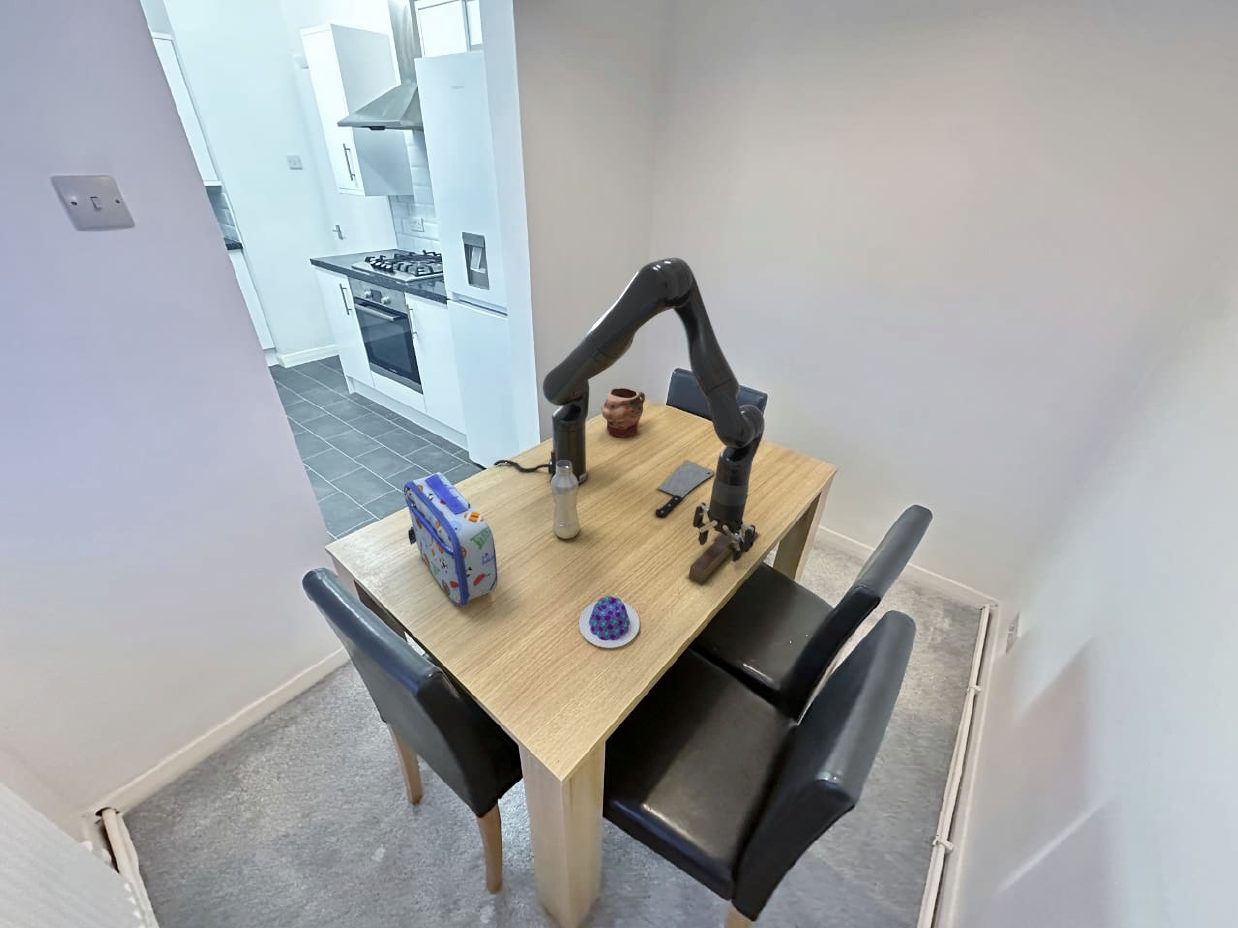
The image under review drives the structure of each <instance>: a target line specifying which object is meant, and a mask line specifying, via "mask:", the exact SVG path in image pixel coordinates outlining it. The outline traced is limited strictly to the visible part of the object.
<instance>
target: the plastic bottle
mask: <svg viewBox="0 0 1238 928" xmlns="http://www.w3.org/2000/svg"><path fill="white" fill-rule="evenodd" d="M572 471H573V469H572V463H571V462H570V461H567V460H561V461H558V462H557V463H556V474H555V475H554V477H553V478H552V477H551V481H550V488H551V493H552V497H553V506H554V512H553V515H554V517H553V519H552V520H553V521H552V522H553V523H552V529H553V532H554V534H555V535H556V536H557V537H558V538H561V539H564V540H565V539H566V540H569V539H572V538H575V536H576V535H577V534H578V533H579V531H580V525H581V524H580V519H579V516H578V508H577V502H578V490H579V484H578V480H577V478H576V477H575V475H574V474H573V473H572Z"/></svg>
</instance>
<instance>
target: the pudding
mask: <svg viewBox="0 0 1238 928" xmlns="http://www.w3.org/2000/svg"><path fill="white" fill-rule="evenodd" d="M640 624H641V623H640V617H639V615H638V613H637V611H636V609H634V607H632V606H631V605H630V604H628V603H626V602H624V601H622V600H621V599H620V598H619V597H614V596H611V595H608V596H606V597H601V598H599V599H598V600H596V601H594V602H592V603H590V604H589V605H588V606H587V607H585V608H584V609H583V610H582V612H581V614H580V616H579V620H578V627H579V630H580V632H581V634H582V636H583V638H585V640H587V641H588V642H589V643H591V644H593V645H595V646H597V647H600V648H608V649H609V648H610V649H611V648H619V647H623V646H624V645H626V644H628V643H630V642H631V641H632V640H633V639H634V638H635V637H636V636H637V634H638V633H639V630H640V626H641V625H640Z"/></svg>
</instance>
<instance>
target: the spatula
mask: <svg viewBox="0 0 1238 928" xmlns="http://www.w3.org/2000/svg"><path fill="white" fill-rule="evenodd" d="M740 530H741V532H742V538H743V540H744V538H745V536H744V535H743V530H742V529H740ZM733 535H735V533H733ZM757 536H758V532H757V531H755V536H754V539H755V538H757ZM734 549H735V547H734V544H733V543H732V542H730V540H729V537H728V535H727V536H725V535H723V534H722V533H721V532H719V534H718V535H716V537H715V539H714V542H713V543H712V544H711V545H710V546H709V547H708V548H707V549H706V550H705V551H704V552H703V553H702V554H701V555H700V556H699V557H698V558H697V559H696V560H695V561H694V562H692V564H691V565H690V567H689V574H688V579H690V580H691V581H693V582H695V583H696V584H698V585H701V584H702V583H703V582H705V580H706V579H707V578H708V577H709V576H710V575H711V574H712V573H713V572H714V571H715V570H716V569H717V567H718V566H719V565H720V564H721V563H723V562H724V560H725V559H727V557H728V556H729V555H730V554H731V553H732V551H734Z"/></svg>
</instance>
